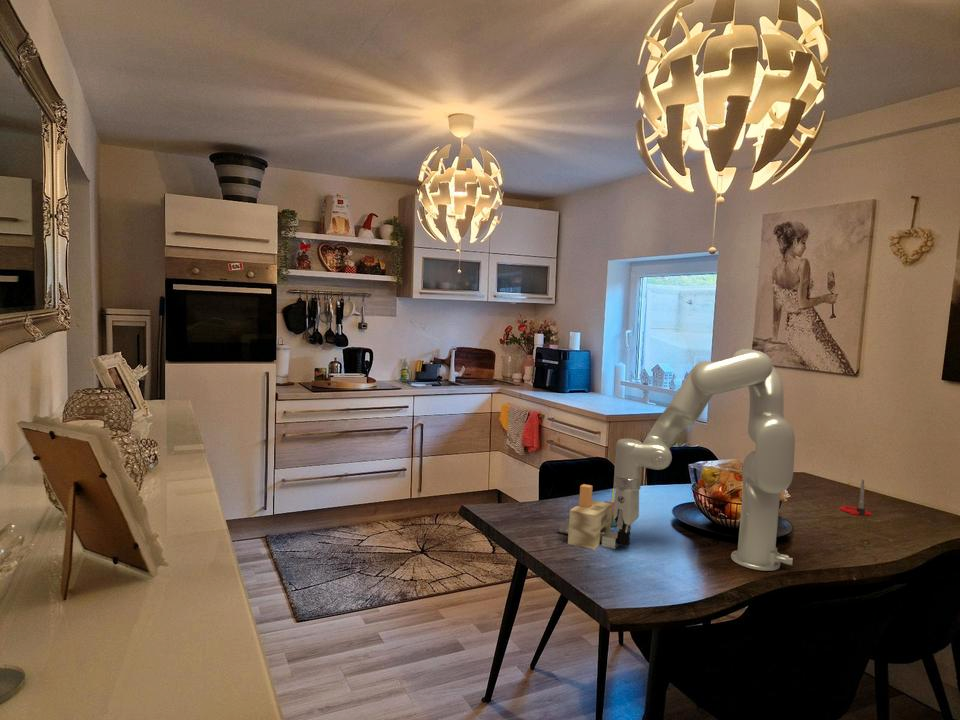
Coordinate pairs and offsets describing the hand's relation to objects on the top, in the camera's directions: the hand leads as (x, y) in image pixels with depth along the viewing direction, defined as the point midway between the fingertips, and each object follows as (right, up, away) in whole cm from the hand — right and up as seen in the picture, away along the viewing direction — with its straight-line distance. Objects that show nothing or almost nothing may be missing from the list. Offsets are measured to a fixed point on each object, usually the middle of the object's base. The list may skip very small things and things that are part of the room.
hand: (623, 544), depth 182 cm
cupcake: (0, 0, +21) cm, 21 cm away
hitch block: (-9, 0, +5) cm, 10 cm away
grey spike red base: (+95, -3, +48) cm, 107 cm away
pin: (-10, 0, +6) cm, 12 cm away
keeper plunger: (-10, +9, +6) cm, 15 cm away
